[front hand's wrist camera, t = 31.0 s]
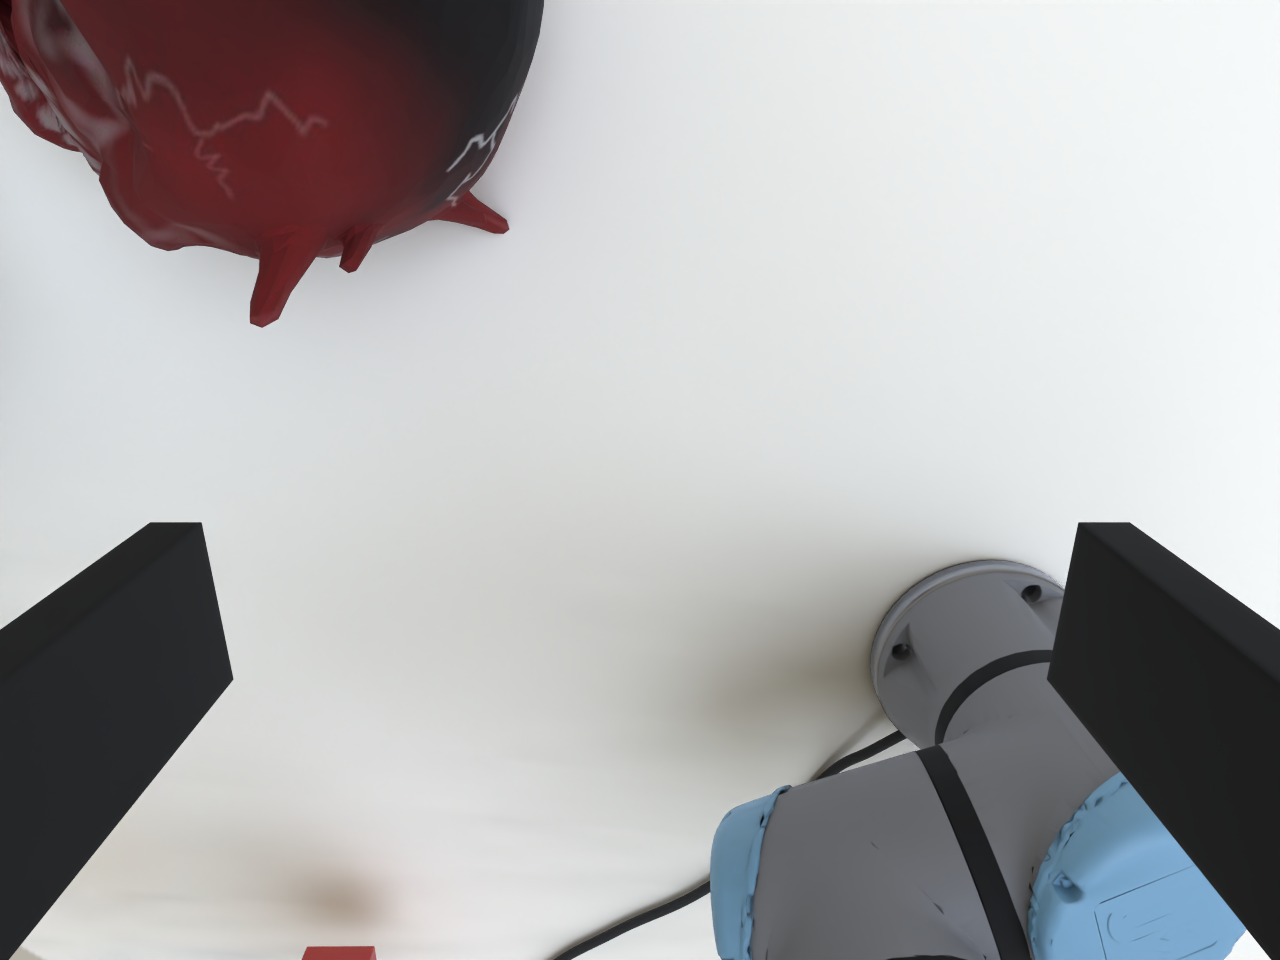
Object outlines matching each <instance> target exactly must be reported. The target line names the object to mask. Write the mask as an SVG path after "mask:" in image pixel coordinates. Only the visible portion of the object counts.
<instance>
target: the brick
mask: <svg viewBox="0 0 1280 960" xmlns="http://www.w3.org/2000/svg"><path fill="white" fill-rule="evenodd" d="M302 960H376V954H375V948H374V946H342V947H307V948H306V951H305V953H304V955H303V958H302Z"/></svg>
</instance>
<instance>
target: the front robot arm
mask: <svg viewBox="0 0 1280 960" xmlns="http://www.w3.org/2000/svg"><path fill="white" fill-rule="evenodd" d="M870 667H871V677H872V682H873V685H874V688H875V691H876V693H877V696H878V698H879V700H880V702H881V704H882V707H883V709H884V711H885V713H886V714H887V716H888V718H889V719H890V721H891V722H892V723H893V724H894V726H895V727H896V728H897V729H898V731H896V732H894V733H892V734H890V735H889V736H887V737H885V738H883V739H881V740H879V741H877V742H876V743H874V744H872V745H870V746H868V747H866V748H864V749H862V750H859V751H857V752H855V753H852V754H850V755H848V756H846V757H844V758H842V759H840V760H839V761H837V762H836V763H834V764H833V765H832V766H830V767H829V768H828V769H827V770H826V771H824V772H823V773H822V774H821V775H820V776H819V777H818V778H817V779H816V780H815V781H812V782H809V783H805V784H802V785H798V786H795V787H792V786H790V785H787V786H783V787H780V788H778V789H777V790H776V791H774V792H773V793H772V794H771V795H768V796H765V797H762V798H759V799H756V800H754V801H751V802H748V803H745V804H742V805H739V806H737V807H735V808H734V809H732V810H731V811H729V812H728V813H727V814H726V815H725V817H724V818H723V820H722V821H721V823H720V825H719V827H718V828H717V830H716V833H715V836H714V840H713V845H712V851H711V862H710V881H709V882H707V883H705V884H704V885H702V886H700V887H699V888H697V889H695V890H694V891H692V892H690V893H688V894H686V895H684V896H682V897H680V898H678V899H676V900H674V901H672V902H670V903H667V904H665V905H663V906H660V907H658V908H655V909H653V910H651V911H648V912H646V913H643V914H641V915H639V916H636V917H634V918H632V919H630V920H627V921H625V922H623V923H621V924H619V925H617V926H615V927H613V928H611V929H609V930H608V931H606V932H604V933H602V934H599V935H597V936H595V937H593V938H591V939H589V940H587V941H585V942H583V943H581V944H579V945H577V946H575V947H573V948H572V949H570V950H568V951H566V952H565V953H563V954H562V955H560V956H558V957H557V958H556V959H554V960H571V959H573V958H575V957H577V956H579V955H581V954H582V953H584V952H586V951H588V950H591V949H593V948H595V947H597V946H599V945H601V944H603V943H605V942H607V941H609V940H611V939H613V938H615V937H617V936H619V935H621V934H623V933H625V932H627V931H629V930H631V929H633V928H636V927H638V926H640V925H642V924H645V923H647V922H650V921H652V920H654V919H657V918H659V917H662V916H664V915H667V914H669V913H671V912H674V911H676V910H678V909H680V908H682V907H684V906H686V905H688V904H690V903H692V902H694V901H696V900H698V899H699V898H701V897H703V896H704V895H706V894H708V893H709V892H711V906H712V917H713V927H714V934H715V941H716V947H717V952H718V955H719V956H720V957H721V959H722V960H1224V959H1225V958H1226V957H1227V956H1228V955H1229V954H1230V952H1231V951H1232V948H1233V946H1234V944H1235V943H1236V942H1237V940H1238V939H1239V938H1240V937H1241V936H1242V935H1243V934H1244V933H1245V931H1246V929H1247V930H1248V931H1249V933H1250V934H1251V935H1252V936H1253V938H1254V939H1255V940H1256V941H1257V943H1258V944H1259V945H1260V946H1261V948H1262V949H1263V950H1264V951H1265V952H1266V954H1267V955H1268V956H1269V957H1270V959H1271V960H1280V630H1279V629H1278V628H1276V627H1275V626H1274V625H1272V624H1271V623H1269V622H1268V621H1267V620H1265V619H1264V618H1262V617H1261V616H1260V615H1258V614H1257V613H1255V612H1254V611H1253V610H1251V609H1250V608H1248V607H1247V606H1246V605H1244V604H1243V603H1242V602H1240V601H1239V600H1237V599H1236V598H1235V597H1233V596H1232V595H1230V594H1229V593H1228V592H1226V591H1225V590H1223V589H1222V588H1221V587H1219V586H1218V585H1216V584H1215V583H1214V582H1212V581H1211V580H1209V579H1208V578H1207V577H1205V576H1204V575H1202V574H1201V573H1200V572H1198V571H1197V570H1195V569H1194V568H1193V567H1191V566H1190V565H1188V564H1187V563H1186V562H1184V561H1183V560H1181V559H1180V558H1179V557H1177V556H1176V555H1174V554H1173V553H1172V552H1170V551H1169V550H1167V549H1166V548H1165V547H1163V546H1162V545H1160V544H1159V543H1158V542H1156V541H1155V540H1153V539H1152V538H1151V537H1149V536H1148V535H1146V534H1145V533H1144V532H1142V531H1141V530H1139V529H1138V528H1137V527H1135V526H1134V525H1133V524H1131V523H1130V522H1079V523H1078V527H1077V532H1076V537H1075V542H1074V547H1073V552H1072V557H1071V562H1070V567H1069V572H1068V577H1067V582H1066V586H1065V589H1064V588H1063V587H1062V586H1061V585H1060V584H1058V583H1057V582H1056V581H1055V580H1054V579H1052V578H1051V577H1050V576H1048V575H1046V574H1044V573H1043V572H1041V571H1039V570H1037V569H1034V568H1032V567H1029V566H1026V565H1023V564H1019V563H1015V562H1009V561H998V560H986V561H975V562H968V563H964V564H960V565H956V566H953V567H950V568H947V569H944V570H942V571H940V572H937V573H935V574H933V575H931V576H929V577H927V578H926V579H924V580H923V581H921V582H919V583H918V584H916V585H915V586H914V587H912V588H911V589H910V590H909V591H907V592H906V593H905V594H904V595H903V596H902V597H901V598H900V599H899V600H898V601H897V602H896V603H895V604H894V605H893V607H892V608H891V609H890V610H889V612H888V613H887V615H886V616H885V618H884V619H883V621H882V623H881V625H880V627H879V629H878V631H877V634H876V636H875V639H874V643H873V646H872V652H871V662H870ZM232 680H233V675H232V670H231V665H230V660H229V655H228V650H227V645H226V641H225V636H224V631H223V626H222V621H221V616H220V611H219V606H218V601H217V596H216V591H215V586H214V582H213V577H212V572H211V567H210V562H209V557H208V552H207V547H206V542H205V537H204V532H203V527H202V523H201V522H150V523H149V524H147V525H146V526H145V527H143V528H142V529H141V530H139V531H138V532H136V533H135V534H134V535H132V536H131V537H129V538H128V539H127V540H125V541H124V542H122V543H121V544H120V545H118V546H117V547H115V548H114V549H113V550H111V551H110V552H108V553H107V554H106V555H104V556H103V557H101V558H100V559H99V560H97V561H96V562H94V563H93V564H92V565H90V566H89V567H87V568H86V569H85V570H83V571H82V572H80V573H79V574H78V575H76V576H75V577H73V578H72V579H71V580H69V581H68V582H66V583H65V584H64V585H62V586H61V587H59V588H58V589H57V590H55V591H54V592H52V593H51V594H50V595H48V596H47V597H45V598H44V599H43V600H41V601H40V602H38V603H37V604H36V605H34V606H33V607H32V608H30V609H29V610H27V611H26V612H25V613H23V614H22V615H20V616H19V617H18V618H16V619H15V620H13V621H12V622H11V623H9V624H8V625H6V626H5V627H4V628H2V629H1V630H0V960H9V959H10V957H11V956H12V955H13V954H14V952H15V951H16V950H17V949H18V948H19V946H20V945H21V944H22V943H23V941H24V940H25V939H26V938H27V936H28V935H29V934H30V933H31V931H32V930H33V929H34V928H35V926H36V925H37V924H38V923H39V921H40V920H41V919H42V918H43V916H44V915H45V914H46V913H47V911H48V910H49V909H50V908H51V906H52V905H53V904H54V903H55V901H56V900H57V899H58V898H59V896H60V895H61V894H62V893H63V891H64V890H65V889H66V888H67V886H68V885H69V884H70V883H71V881H72V880H73V879H74V878H75V876H76V875H77V874H78V873H79V871H80V870H81V869H82V868H83V866H84V865H85V864H86V863H87V861H88V860H89V859H90V858H91V856H92V855H93V854H94V853H95V851H96V850H97V849H98V848H99V846H100V845H101V844H102V843H103V841H104V840H105V839H106V838H107V836H108V835H109V834H110V833H111V831H112V830H113V829H114V828H115V826H116V825H117V824H118V823H119V821H120V820H121V819H122V818H123V816H124V815H125V814H126V813H127V812H128V810H129V809H130V808H131V807H132V805H133V804H134V803H135V802H136V800H137V799H138V798H139V797H140V795H141V794H142V793H143V792H144V790H145V789H146V788H147V787H148V785H149V784H150V783H151V782H152V780H153V779H154V778H155V777H156V775H157V774H158V773H159V772H160V770H161V769H162V768H163V767H164V765H165V764H166V763H167V762H168V760H169V759H170V758H171V757H172V755H173V754H174V753H175V752H176V750H177V749H178V748H179V747H180V745H181V744H182V743H183V742H184V740H185V739H186V738H187V737H188V735H189V734H190V733H191V732H192V730H193V729H194V728H195V727H196V725H197V724H198V723H199V722H200V720H201V719H202V718H203V717H204V715H205V714H206V713H207V712H208V710H209V709H210V708H211V707H212V705H213V704H214V703H215V702H216V700H217V699H218V698H219V697H220V695H221V694H222V693H223V692H224V690H225V689H226V688H227V687H228V685H229V684H230V683H231V682H232ZM906 738H908V739H909V740H910V741H912V742H913V743H914V744H915V745H916V746H918V747H919V748H920V749H921V750H918V751H913V752H910V753H906V754H903V755H900V756H896V757H893V758H889V759H886V760H883V761H879V762H876V763H873V764H869V765H866V766H863V767H859V768H856V769H852V770H849V771H846V772H842V773H839V772H841V771H842V770H844V769H845V768H847V767H849V766H851V765H853V764H856V763H858V762H860V761H863V760H865V759H867V758H870V757H872V756H874V755H875V754H877V753H879V752H881V751H883V750H885V749H887V748H889V747H891V746H893V745H895V744H896V743H898V742H900V741H902V740H904V739H906ZM838 773H839V774H838Z"/></svg>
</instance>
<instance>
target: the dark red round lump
mask: <svg viewBox="0 0 1280 960" xmlns="http://www.w3.org/2000/svg"><path fill="white" fill-rule="evenodd" d="M543 7H544V0H0V82H1V83H2V85H3V87H4V89H5V90H6V92H7V94H8V95H9V98H10V102H11V105H12V108H13V110H14V112H15V113H16V115H17V116H18V117H19V118H20V119H21V120H22V121H23V122H24V123H25V124H26V125H27V126H28V127H29V129H30V130H31V131H32V132H33V133H34V134H35V135H37V136H39V137H41V138H43V139H45V140H47V141H49V142H51V143H54V144H56V145H58V146H60V147H62V148H65V149H68V150H72V151H77V152H82V153H83V156H84V157H85V158H86V160H87V161H88V163H89V165H90V166H91V168H92V169H93V171H94V172H96V173H97V174H98V175H99V176H100V177H99V181H100V183H101V186H102V188H103V190H104V192H105V194H106V196H107V198H108V201H109V203H110V205H111V207H112V208H113V210H114V211H115V212H116V213H117V215H118V216H119V217H120V219H121V220H122V221H123V223H124V224H125V225H127V226H128V227H129V228H130V229H131V230H132V231H134V232H135V233H136V234H137V235H138V236H140V237H141V238H142V239H143V240H144V241H146V242H147V243H148V244H149V245H151V246H153V247H156V248H159V249H163V250H166V251H171V250H178V249H180V248H182V247H186V246H209V247H214V248H218V249H222V250H226V251H230V252H232V253H235V254H239V255H244V256H248V257H251V258H255V259H260V261H259V273H258V277H257V280H256V284H255V287H254V291H253V295H252V298H251V302H250V323H251V324H254V325H256V326H259V327H262V328H263V327H264V326H266V325H268V324H270V323H272V322H274V321H275V320H277V319H279V317H280V315H281V312H282V310H283V308H284V306H285V304H286V302H287V300H288V297H289V295H290V293H291V292H292V290H293V289H294V287H295V286H296V285H297V283H298V282H299V280H300V279H301V277H302V276H303V275H304V273H305V272H306V270H307V269H308V268H309V266H310V265H311V263H312V262H313V260H314V259H315V258H316V257H321V258H330V257H337V256H342V257H341V261H340V265H339V267H340V268H342V269H343V270H345V271H346V272H348V273H350V272H353V271H356V270H357V268H358V267H359V265H360V264H361V262H362V261H363V259H364V257H365V256H366V254H367V253H368V251H369V250H370V248H371V246H372V245H373V244H375V243H378V242H380V241H383V240H385V239H388V238H391V237H393V236H396V235H398V234H401V233H403V232H406V231H408V230H411V229H413V228H415V227H417V226H418V225H420V224H422V223H424V222H426V221H430V220H444V221H451V222H457V223H461V224H465V225H469V226H473V227H477V228H480V229H483V230H486V231H489V232H492V233H498V234H504V233H505V232H507V231H508V230H509V227H508V224H507V220H506V219H504V218H503V217H502V216H500V215H499V214H497V213H496V212H495V211H493V210H492V209H490V208H489V207H487V206H486V205H484V204H483V203H481V202H480V201H479V200H477V199H476V198H475V197H474V196H473V195H472V194H471V193H470V191H469V189H471V187H472V186H473V185H474V184H475V183H476V182H477V181H478V180H479V179H480V177H481V176H482V175H483V174H484V172H485V171H486V169H487V167H488V166H489V164H490V163H491V161H492V159H493V157H494V155H495V153H496V152H497V150H498V147H499V145H500V143H501V140H502V138H503V136H504V134H505V131H506V129H507V126H508V124H509V121H510V119H511V116H512V113H513V111H514V108H515V106H516V103H517V101H518V98H519V96H520V93H521V91H522V88H523V85H524V83H525V80H526V77H527V74H528V71H529V68H530V65H531V62H532V59H533V55H534V52H535V48H536V45H537V41H538V38H539V34H540V27H541V20H542V14H543Z"/></svg>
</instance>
